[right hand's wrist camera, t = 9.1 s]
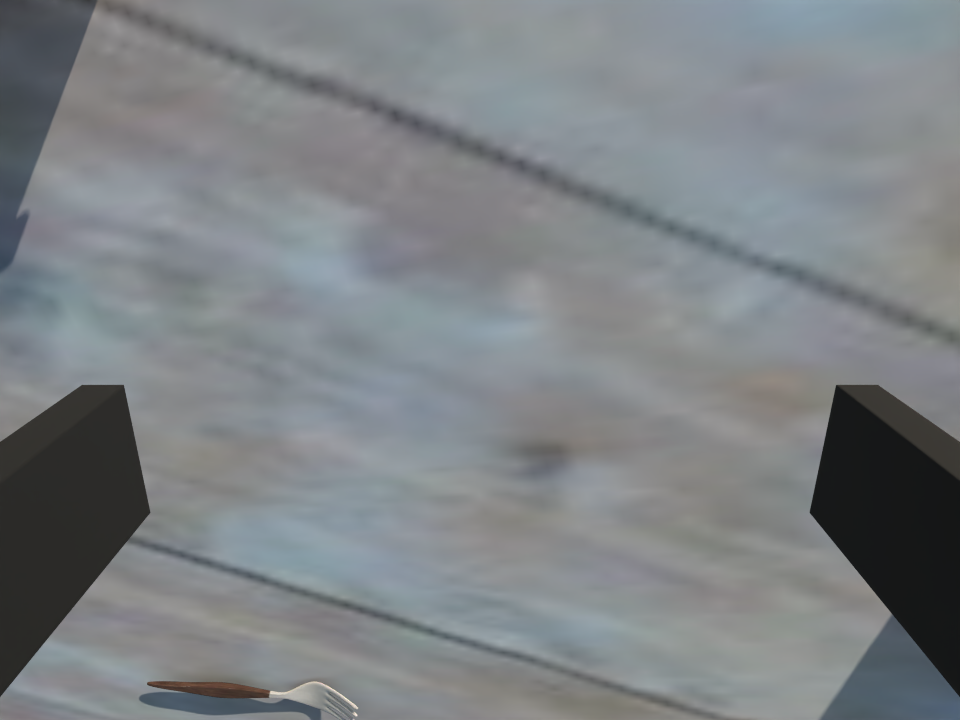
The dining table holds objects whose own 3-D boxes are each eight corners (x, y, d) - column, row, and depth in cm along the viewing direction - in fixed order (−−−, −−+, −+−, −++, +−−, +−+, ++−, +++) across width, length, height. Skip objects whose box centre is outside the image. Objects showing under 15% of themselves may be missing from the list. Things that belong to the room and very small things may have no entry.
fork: (149, 664, 50) (136, 686, 48) (362, 684, 50) (357, 706, 48) (151, 690, 50) (138, 713, 49) (360, 710, 51) (355, 732, 49)
